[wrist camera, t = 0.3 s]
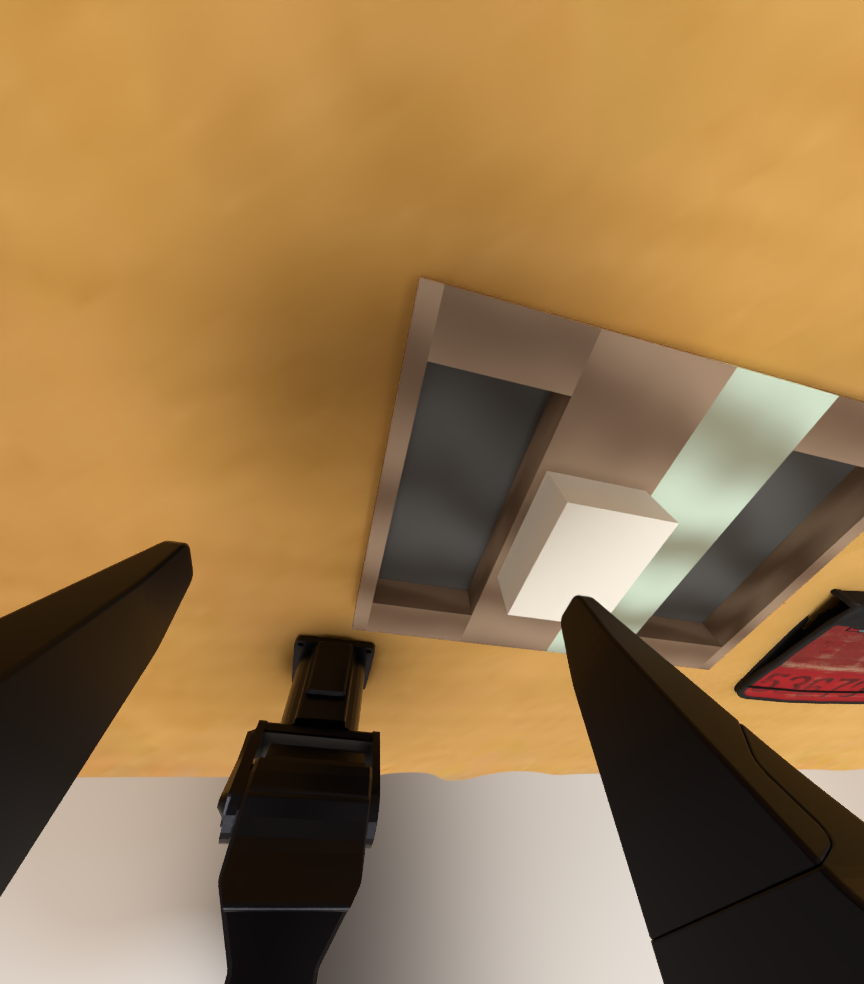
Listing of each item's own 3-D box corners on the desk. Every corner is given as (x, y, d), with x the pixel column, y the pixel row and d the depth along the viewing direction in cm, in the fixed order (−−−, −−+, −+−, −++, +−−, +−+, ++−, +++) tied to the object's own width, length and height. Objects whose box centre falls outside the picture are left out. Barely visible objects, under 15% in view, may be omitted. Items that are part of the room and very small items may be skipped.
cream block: (580, 588, 24) (600, 626, 22) (497, 576, 23) (507, 614, 21) (645, 490, 20) (679, 523, 17) (547, 470, 19) (567, 502, 16)
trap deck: (689, 643, 32) (708, 669, 30) (356, 601, 27) (351, 629, 25) (916, 416, 21) (972, 433, 19) (419, 275, 16) (420, 277, 14)
